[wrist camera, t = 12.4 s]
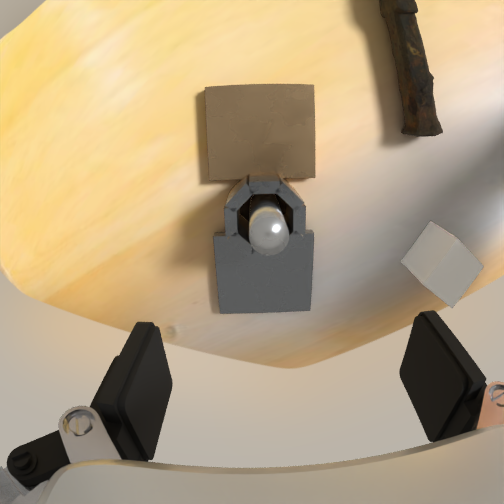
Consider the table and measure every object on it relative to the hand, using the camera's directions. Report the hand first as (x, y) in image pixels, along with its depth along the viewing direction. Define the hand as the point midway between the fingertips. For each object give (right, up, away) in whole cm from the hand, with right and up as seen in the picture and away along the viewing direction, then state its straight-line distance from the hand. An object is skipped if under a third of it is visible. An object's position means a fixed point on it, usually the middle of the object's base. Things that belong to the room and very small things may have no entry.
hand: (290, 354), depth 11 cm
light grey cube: (+20, +3, +23) cm, 31 cm away
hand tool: (+13, +24, +15) cm, 32 cm away
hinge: (0, +8, +21) cm, 22 cm away
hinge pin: (0, +8, +21) cm, 22 cm away
